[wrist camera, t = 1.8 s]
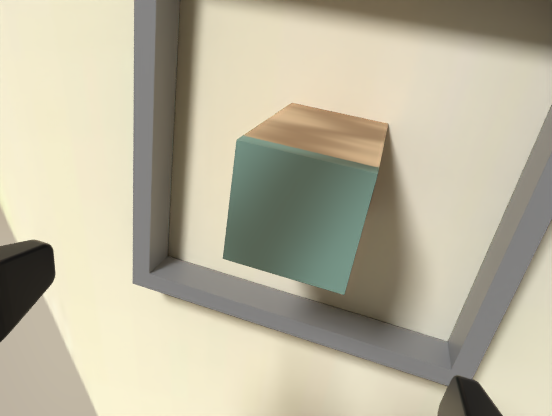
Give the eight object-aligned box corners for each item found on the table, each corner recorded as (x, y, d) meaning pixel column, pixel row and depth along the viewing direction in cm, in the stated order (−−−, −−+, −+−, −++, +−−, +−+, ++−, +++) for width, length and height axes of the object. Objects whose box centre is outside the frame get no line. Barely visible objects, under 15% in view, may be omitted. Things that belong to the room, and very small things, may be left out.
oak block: (388, 123, 18) (377, 174, 12) (363, 212, 20) (344, 295, 14) (291, 102, 19) (236, 140, 13) (277, 190, 21) (222, 258, 15)
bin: (645, -30, 14) (679, -38, 12) (461, 362, 22) (465, 391, 20) (162, -95, 18) (134, -108, 16) (151, 265, 25) (132, 283, 24)
